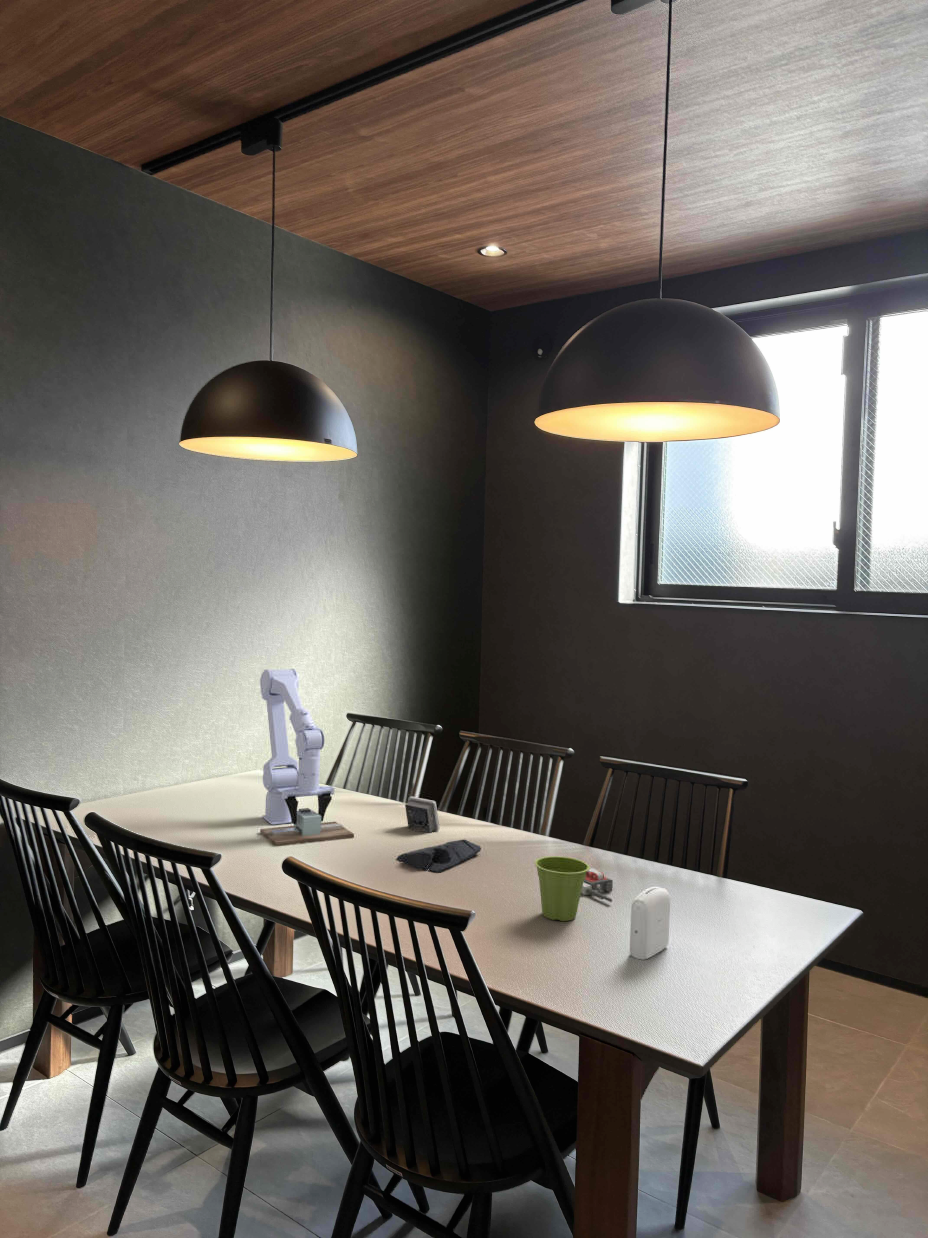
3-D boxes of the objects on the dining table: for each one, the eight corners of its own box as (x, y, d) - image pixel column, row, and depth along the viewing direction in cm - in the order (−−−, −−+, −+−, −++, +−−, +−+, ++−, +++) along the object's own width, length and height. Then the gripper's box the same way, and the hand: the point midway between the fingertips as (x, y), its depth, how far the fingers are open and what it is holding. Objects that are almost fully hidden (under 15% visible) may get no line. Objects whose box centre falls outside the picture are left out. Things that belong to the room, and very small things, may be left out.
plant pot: (572, 930, 186) (575, 876, 186) (522, 917, 193) (524, 865, 192) (596, 914, 196) (598, 863, 196) (547, 902, 203) (549, 852, 202)
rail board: (260, 832, 250) (260, 825, 250) (335, 825, 261) (335, 818, 260) (275, 846, 238) (276, 838, 238) (353, 837, 248) (354, 830, 248)
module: (293, 828, 251) (294, 809, 251) (310, 827, 254) (311, 807, 253) (303, 836, 244) (303, 815, 244) (320, 834, 247) (321, 814, 246)
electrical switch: (440, 831, 259) (439, 799, 257) (429, 836, 254) (429, 804, 253) (413, 825, 264) (413, 794, 263) (403, 830, 259) (402, 799, 258)
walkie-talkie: (551, 881, 218) (607, 907, 202) (552, 863, 218) (608, 888, 201) (579, 876, 223) (636, 901, 206) (580, 859, 223) (637, 882, 206)
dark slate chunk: (490, 857, 236) (491, 839, 236) (435, 876, 219) (435, 857, 219) (446, 845, 246) (447, 828, 246) (389, 862, 229) (390, 844, 229)
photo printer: (645, 962, 172) (648, 898, 171) (626, 956, 174) (628, 892, 174) (671, 947, 180) (674, 885, 179) (651, 941, 182) (654, 880, 182)
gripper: (288, 778, 241) (286, 828, 242) (339, 774, 249) (337, 823, 249) (279, 772, 248) (278, 822, 248) (329, 769, 255) (328, 817, 255)
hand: (307, 822), depth 249 cm, fingers open, 7 cm apart
